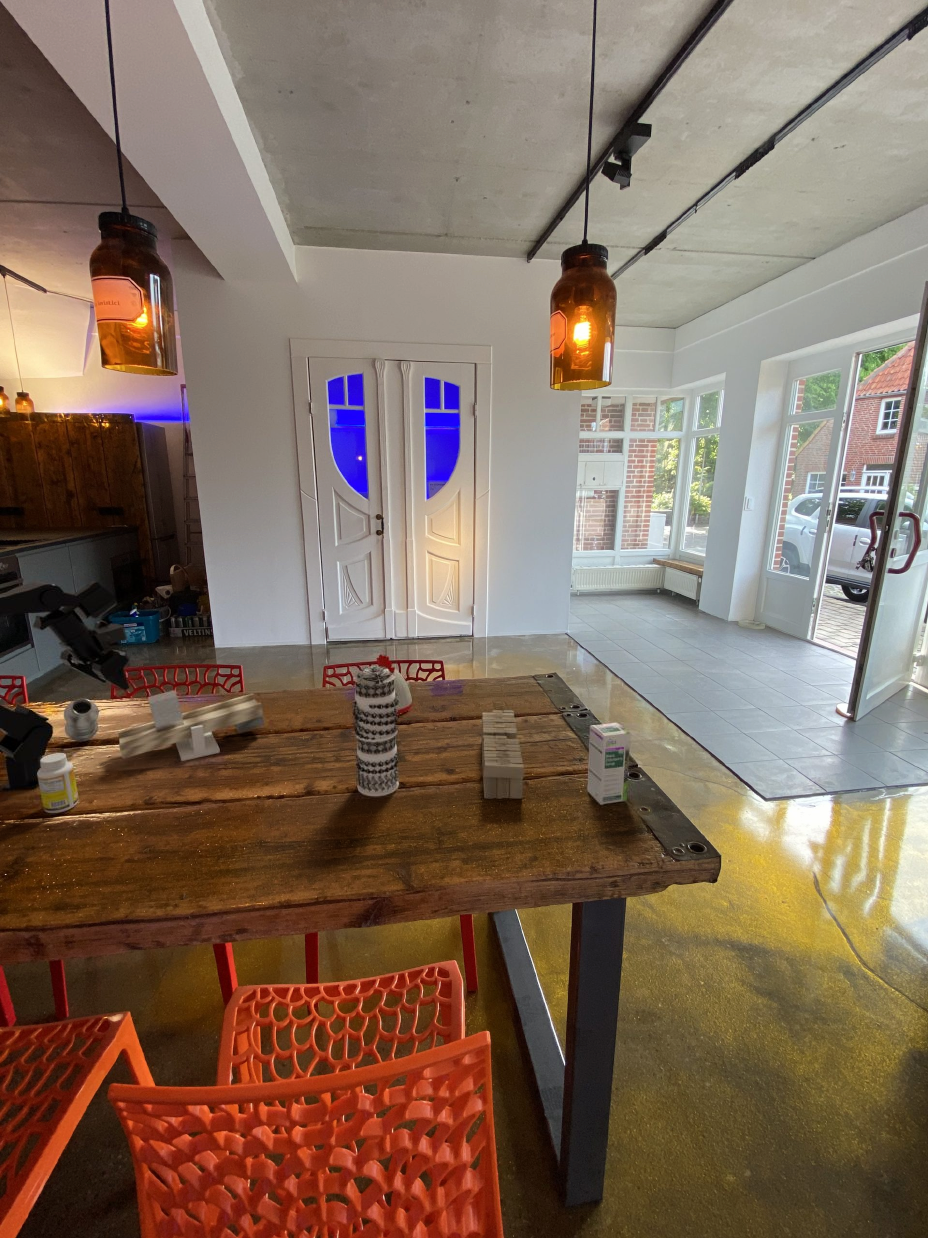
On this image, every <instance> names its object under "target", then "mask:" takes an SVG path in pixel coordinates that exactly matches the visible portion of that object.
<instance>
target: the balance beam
mask: <svg viewBox="0 0 928 1238" xmlns="http://www.w3.org/2000/svg"><path fill="white" fill-rule="evenodd" d="M181 714H182V718H183V722H184V725H181V726H178V727H175V728H171V729H168V730H164V731H161V732H158V733H157V730H156V726H155V723H154V721H150V722H147V723H144V724H139V725H136V726H133V727H129V728H127V729H122V730H120V731H117V736H118V739H119V740H118V741H119V744H118V747H119V749H120V752H121V756H122V759H127V758H130V757H133V756H137V755H140V754H143V753H146V752H151V751H152V750H157V749H159V748H160V749H161V748H163V747H165V746H169V745H172V744H176V742H179V741H183V740H186V739H189V738H192V734H191V727H194V726H199V725H202V726H203V732H204V734H206V733H209V732H211V733H212V732H215V731H218V730H221V729H225V728H228V727H230V726H234V727H235V729H236V731H237V732H238V733H239V734H241V733H244V732H247V731H250V730H253V729H254V730H255V729H256V728H259V727H263V726H265V721H264V712H263V707H262V703H261V702H258V701H257V700H256V699H255V695H254V693H250V694H247V695H246V694H245V695H242V696H238V697H235V698H232V699H228V700H224V701H221V702H217V703H214V704H211V705H207V706H203V707H200V708H196V709H194V710H190V711H187V712H183V713H182V712H181Z"/></svg>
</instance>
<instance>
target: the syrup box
mask: <svg viewBox="0 0 928 1238" xmlns="http://www.w3.org/2000/svg"><path fill="white" fill-rule="evenodd" d="M588 743H589V747H588V749H589V750H588V768H587V769H588V770H587V788H586V789H587V792H588V793H589V794H590V796H591V797H593V798H594V799H595V800H596V802H597V803H598V804H599V805H601V806H602V805H606V804H607V805H608V804H613V803H619V802H626V801H627V796H628V783H629V782H628V780H629V779H628V778H629V777H628V776H629V762H630V747H631V733H630V731H629V730H628V729H626V728H625V727H624V726H623V725H621V724H619V723H618V722H617V721H616V722H612V723H603V724H596V725H594V724H593V725H592V724H591V725H590V726H589V741H588Z"/></svg>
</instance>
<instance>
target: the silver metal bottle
mask: <svg viewBox="0 0 928 1238" xmlns="http://www.w3.org/2000/svg"><path fill="white" fill-rule="evenodd" d="M99 714H100V710H99V708H98V706H97V704H96V703H94V702H93V701H92V700H89V699H87V698H78V699H76V700H73V701H71V702H70V703H68V704H67V705H66V706H65V708H64V710H63V718H64V720H65V724H64V733H65V735H67V737H68V738H69V739H71V740H73V741H75V742H86V741H89V740H90V739H92V738H93V737H94V736H96V734H97V732H98V731H99V723H98V720H97V719H98V718H99Z"/></svg>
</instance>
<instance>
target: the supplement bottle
mask: <svg viewBox="0 0 928 1238" xmlns="http://www.w3.org/2000/svg"><path fill="white" fill-rule="evenodd" d="M40 763H41V768H40V769H39V770H38V772H37V776H38V781H39V786H38V787H39V791H40V796H41V797H40V798H41V801H42V807H43V810H44V811H45V812H46V813H49V814H58V813H63V812H67V811H69V810H70V809H72V808H74V807H75V806H76V805H77V804H78V803H79V799H80V798H79V793H78V788H77V787H78V786H77V781H76V776H75V770H74V765H73V763H72V762H70V761H68V759H67V755H66V753H62V752H57V753H52V754H47V755H46V756H45V755H44V756H42V759H41V760H40Z"/></svg>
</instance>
